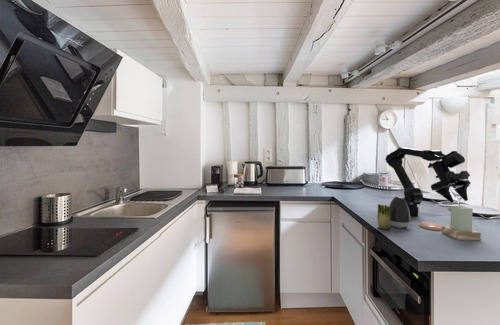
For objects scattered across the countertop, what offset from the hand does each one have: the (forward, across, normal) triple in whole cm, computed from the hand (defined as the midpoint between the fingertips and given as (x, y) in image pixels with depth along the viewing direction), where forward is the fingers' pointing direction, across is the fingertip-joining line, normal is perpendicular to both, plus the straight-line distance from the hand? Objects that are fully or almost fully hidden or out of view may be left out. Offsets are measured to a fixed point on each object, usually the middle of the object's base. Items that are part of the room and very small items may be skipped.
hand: (459, 201), depth 111 cm
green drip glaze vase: (+6, -33, +17) cm, 37 cm away
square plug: (+15, -8, +2) cm, 17 cm away
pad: (+8, -10, +12) cm, 18 cm away
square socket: (+15, -8, +2) cm, 17 cm away
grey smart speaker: (+6, -24, +17) cm, 30 cm away
